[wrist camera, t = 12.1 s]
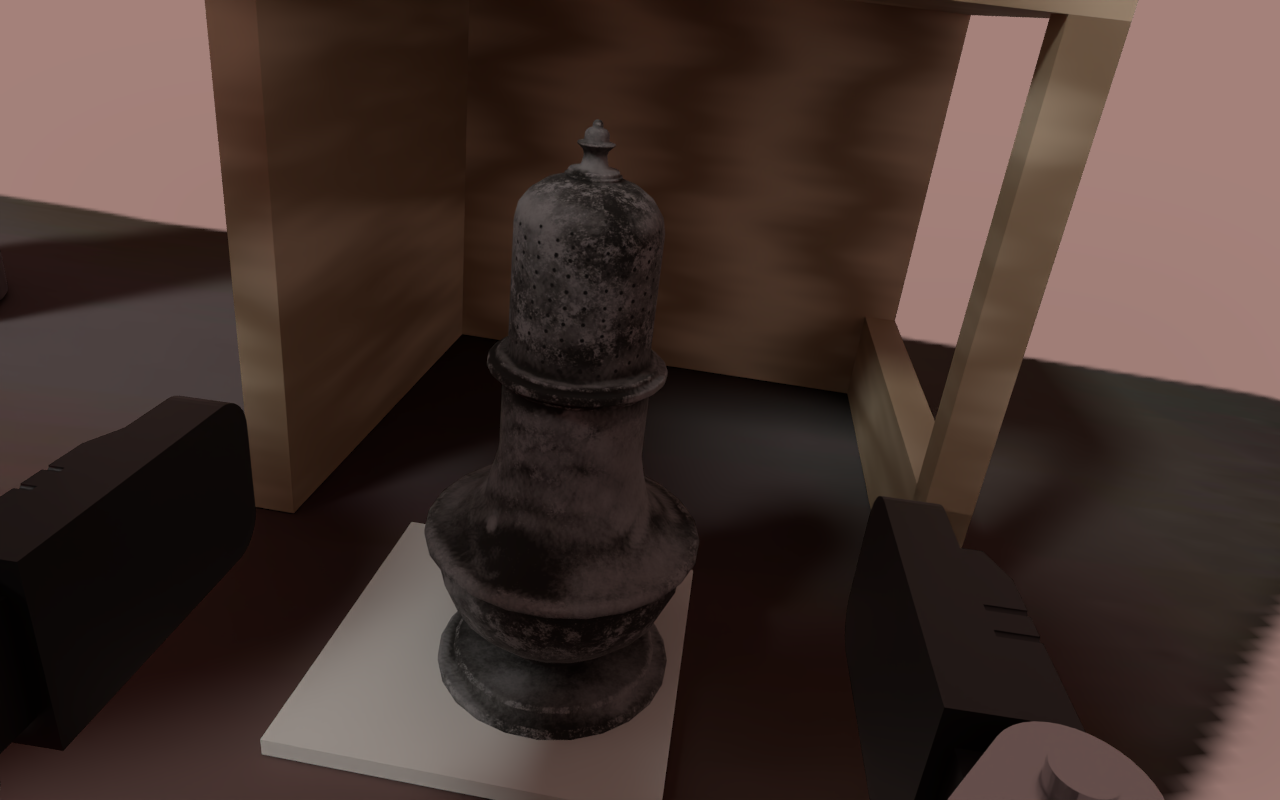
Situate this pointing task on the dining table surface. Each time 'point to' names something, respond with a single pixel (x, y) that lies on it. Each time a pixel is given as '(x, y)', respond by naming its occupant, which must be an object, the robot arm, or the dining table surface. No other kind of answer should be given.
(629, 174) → the hutch
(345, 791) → the dining table surface
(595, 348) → the salt shaker
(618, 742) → the mat
